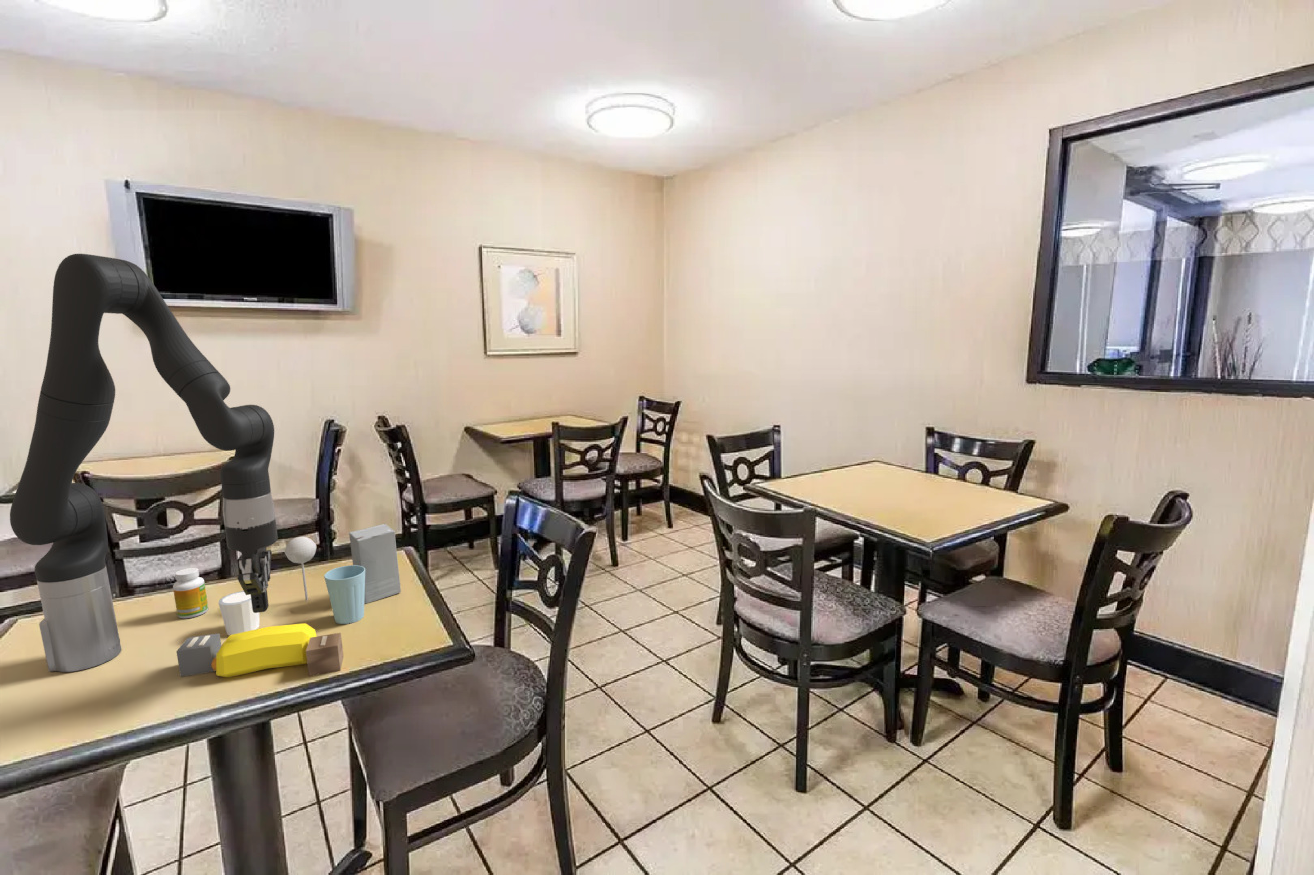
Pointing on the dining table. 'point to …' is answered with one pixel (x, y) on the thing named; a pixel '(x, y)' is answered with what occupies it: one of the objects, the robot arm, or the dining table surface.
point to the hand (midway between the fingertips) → (260, 610)
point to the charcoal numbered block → (198, 654)
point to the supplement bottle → (190, 593)
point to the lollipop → (301, 554)
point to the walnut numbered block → (324, 654)
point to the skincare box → (376, 560)
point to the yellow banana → (263, 649)
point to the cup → (346, 593)
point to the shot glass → (238, 613)
